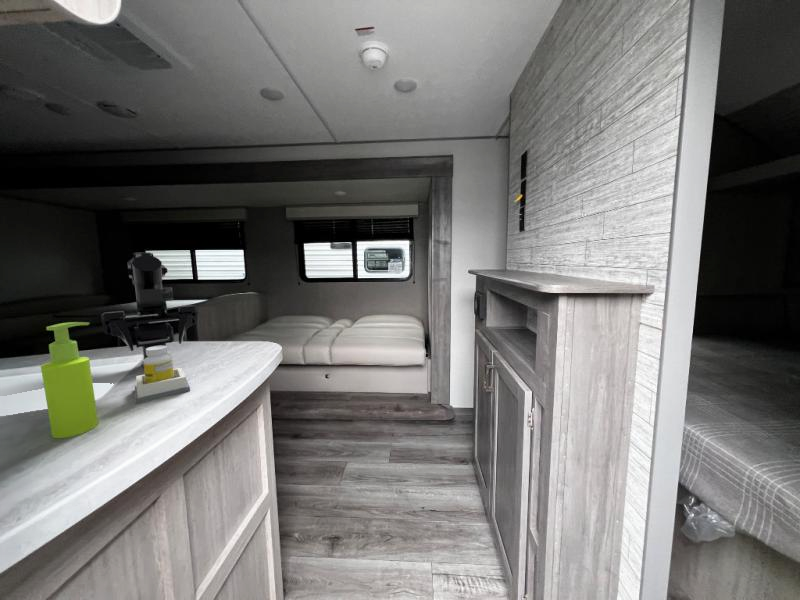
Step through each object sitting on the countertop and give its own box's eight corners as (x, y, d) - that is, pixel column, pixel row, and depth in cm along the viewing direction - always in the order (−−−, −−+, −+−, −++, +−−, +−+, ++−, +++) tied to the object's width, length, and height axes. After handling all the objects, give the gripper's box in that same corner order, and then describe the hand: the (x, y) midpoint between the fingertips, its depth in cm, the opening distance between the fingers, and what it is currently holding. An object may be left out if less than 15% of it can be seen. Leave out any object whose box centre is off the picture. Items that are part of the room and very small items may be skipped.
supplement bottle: (143, 387, 73) (139, 348, 72) (171, 380, 77) (167, 343, 76) (149, 393, 69) (145, 352, 68) (178, 385, 74) (173, 346, 72)
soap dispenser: (112, 419, 60) (98, 320, 57) (71, 439, 53) (54, 328, 51) (86, 418, 61) (71, 319, 58) (42, 437, 54) (23, 327, 51)
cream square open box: (135, 389, 74) (133, 375, 74) (185, 379, 81) (183, 366, 80) (135, 403, 67) (133, 388, 66) (190, 390, 73) (188, 376, 73)
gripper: (96, 278, 70) (98, 334, 63) (193, 275, 82) (204, 322, 75) (103, 308, 76) (106, 361, 70) (192, 301, 89) (201, 346, 82)
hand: (157, 346), depth 74 cm, fingers open, 9 cm apart
